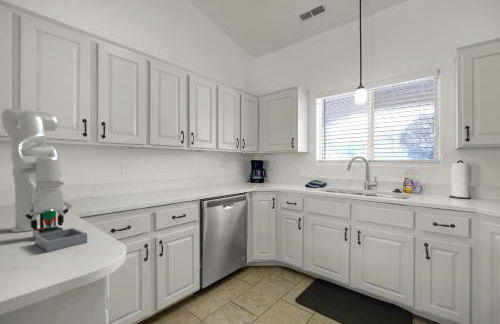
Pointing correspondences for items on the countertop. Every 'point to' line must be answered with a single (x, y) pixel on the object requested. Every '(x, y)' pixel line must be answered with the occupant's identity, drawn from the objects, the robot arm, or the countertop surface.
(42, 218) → the soda can
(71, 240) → the tray
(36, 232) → the pin socket
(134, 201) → the countertop surface
